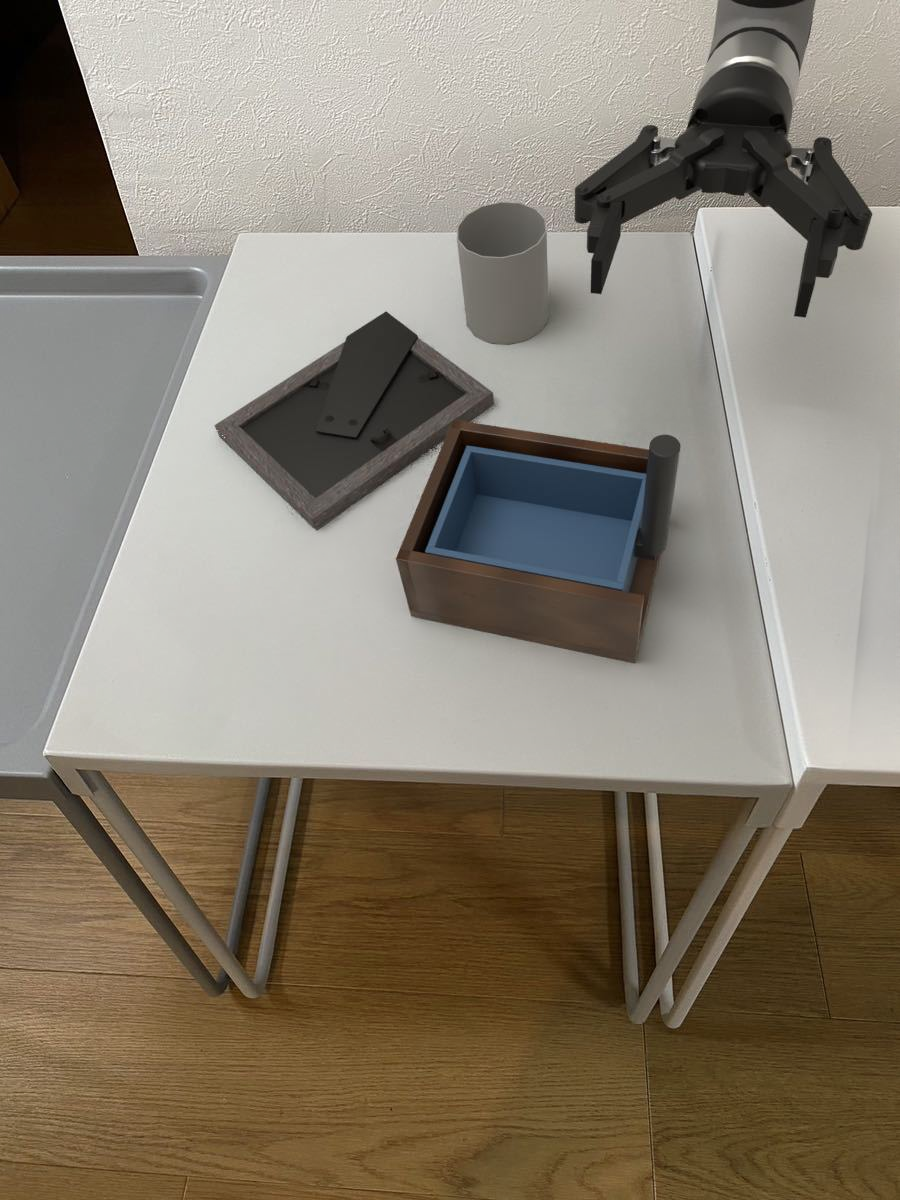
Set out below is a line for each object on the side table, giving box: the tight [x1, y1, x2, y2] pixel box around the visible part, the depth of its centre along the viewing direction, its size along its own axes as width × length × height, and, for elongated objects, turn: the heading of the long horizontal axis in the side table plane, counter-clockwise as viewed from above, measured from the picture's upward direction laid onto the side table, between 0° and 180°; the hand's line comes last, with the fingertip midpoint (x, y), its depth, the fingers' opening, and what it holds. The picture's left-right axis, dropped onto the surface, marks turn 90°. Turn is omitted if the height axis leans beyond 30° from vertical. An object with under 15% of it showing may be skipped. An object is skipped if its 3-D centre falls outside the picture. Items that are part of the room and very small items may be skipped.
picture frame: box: [213, 310, 495, 531], centre depth 87 cm, size 16×2×21 cm
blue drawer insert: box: [425, 434, 681, 592], centre depth 69 cm, size 17×11×15 cm, turn 73°
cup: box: [456, 201, 550, 346], centre depth 90 cm, size 8×8×10 cm
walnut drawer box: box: [395, 420, 661, 664], centre depth 73 cm, size 18×14×8 cm
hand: (697, 289), depth 62 cm, fingers open, 13 cm apart
